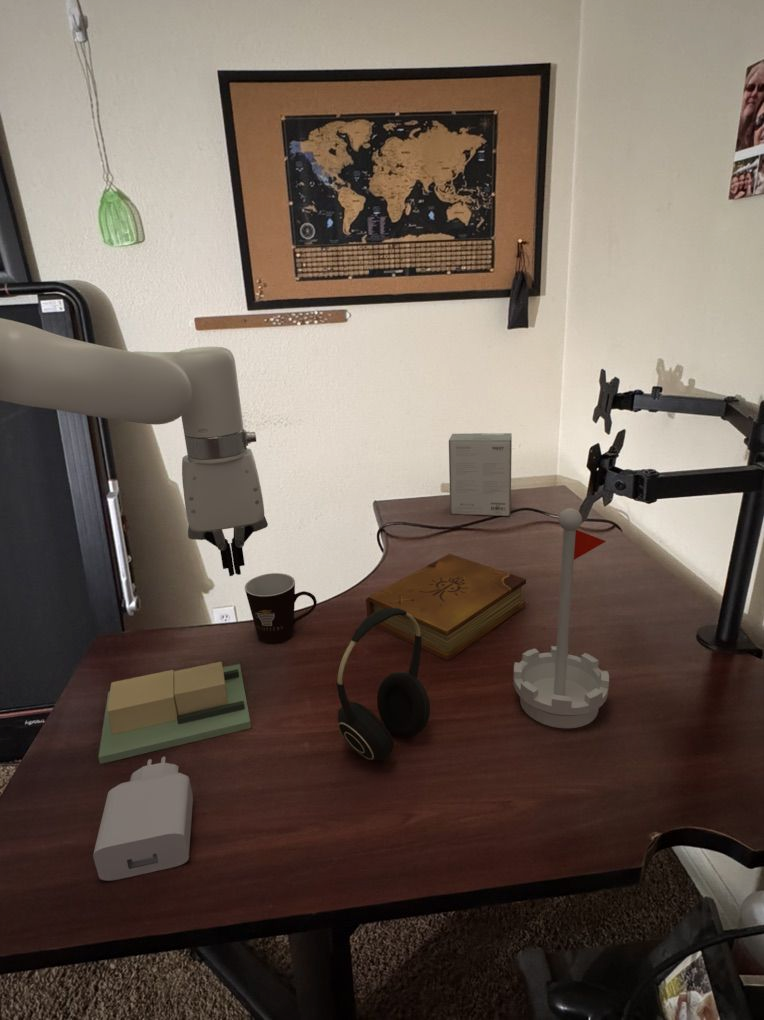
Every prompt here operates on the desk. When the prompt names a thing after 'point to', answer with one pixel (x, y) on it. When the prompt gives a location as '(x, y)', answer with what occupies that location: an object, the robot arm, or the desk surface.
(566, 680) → the flag stand
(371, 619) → the headphones
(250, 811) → the desk surface
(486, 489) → the hard drive box
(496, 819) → the desk surface
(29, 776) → the desk surface
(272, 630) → the coffee mug
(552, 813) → the desk surface
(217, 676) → the yellow block
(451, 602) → the diary
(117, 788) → the charger
